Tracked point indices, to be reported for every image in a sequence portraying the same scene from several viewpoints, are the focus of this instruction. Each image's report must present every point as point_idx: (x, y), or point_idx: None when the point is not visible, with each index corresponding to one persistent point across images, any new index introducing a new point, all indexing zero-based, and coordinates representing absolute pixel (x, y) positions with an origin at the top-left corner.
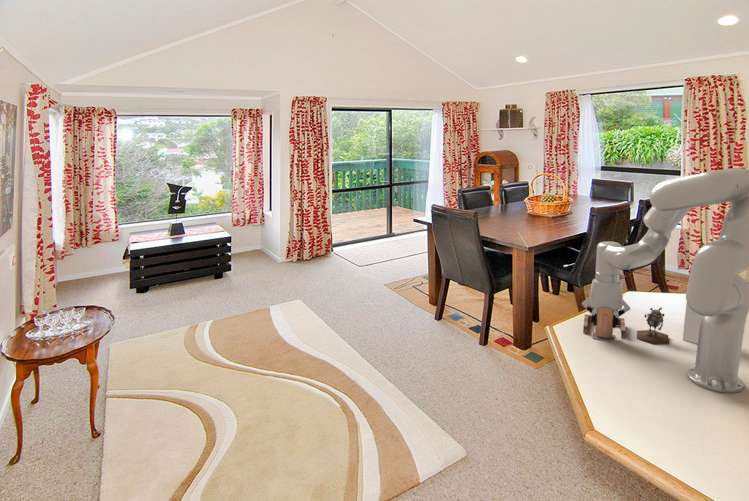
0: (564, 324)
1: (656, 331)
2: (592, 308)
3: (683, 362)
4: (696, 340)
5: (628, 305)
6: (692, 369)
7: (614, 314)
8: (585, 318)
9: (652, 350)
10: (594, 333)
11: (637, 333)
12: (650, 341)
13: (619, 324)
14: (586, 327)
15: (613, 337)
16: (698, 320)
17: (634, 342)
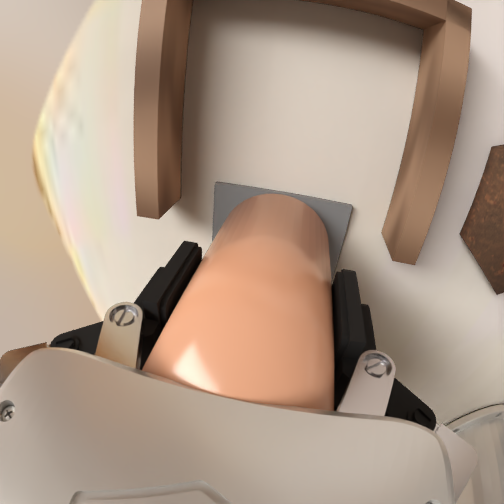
0: (67, 88)
1: None
2: (101, 343)
3: (481, 385)
4: None
5: (465, 483)
6: (457, 428)
7: (337, 384)
8: (144, 48)
9: (454, 338)
10: (223, 198)
11: (487, 197)
12: (492, 286)
13: (423, 24)
14: (158, 215)
15: (334, 244)
16: None
17: (427, 277)
